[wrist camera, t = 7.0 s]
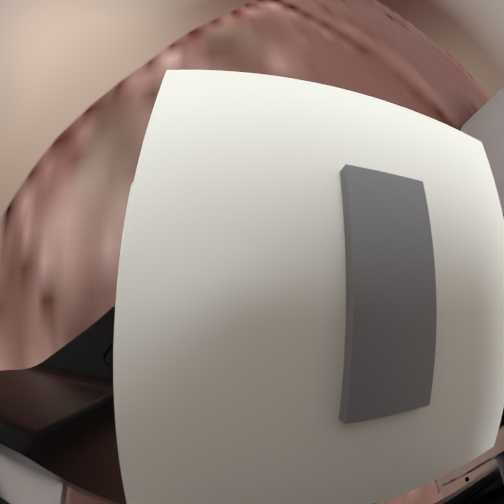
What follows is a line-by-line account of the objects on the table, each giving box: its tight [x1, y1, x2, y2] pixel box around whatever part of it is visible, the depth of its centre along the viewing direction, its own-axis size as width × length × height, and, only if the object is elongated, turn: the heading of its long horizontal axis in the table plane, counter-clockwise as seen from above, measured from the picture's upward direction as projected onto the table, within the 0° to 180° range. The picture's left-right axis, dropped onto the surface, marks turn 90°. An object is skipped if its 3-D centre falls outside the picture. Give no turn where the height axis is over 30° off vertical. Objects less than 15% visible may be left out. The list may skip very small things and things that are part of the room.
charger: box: [113, 70, 504, 504], centre depth 9 cm, size 5×5×13 cm
